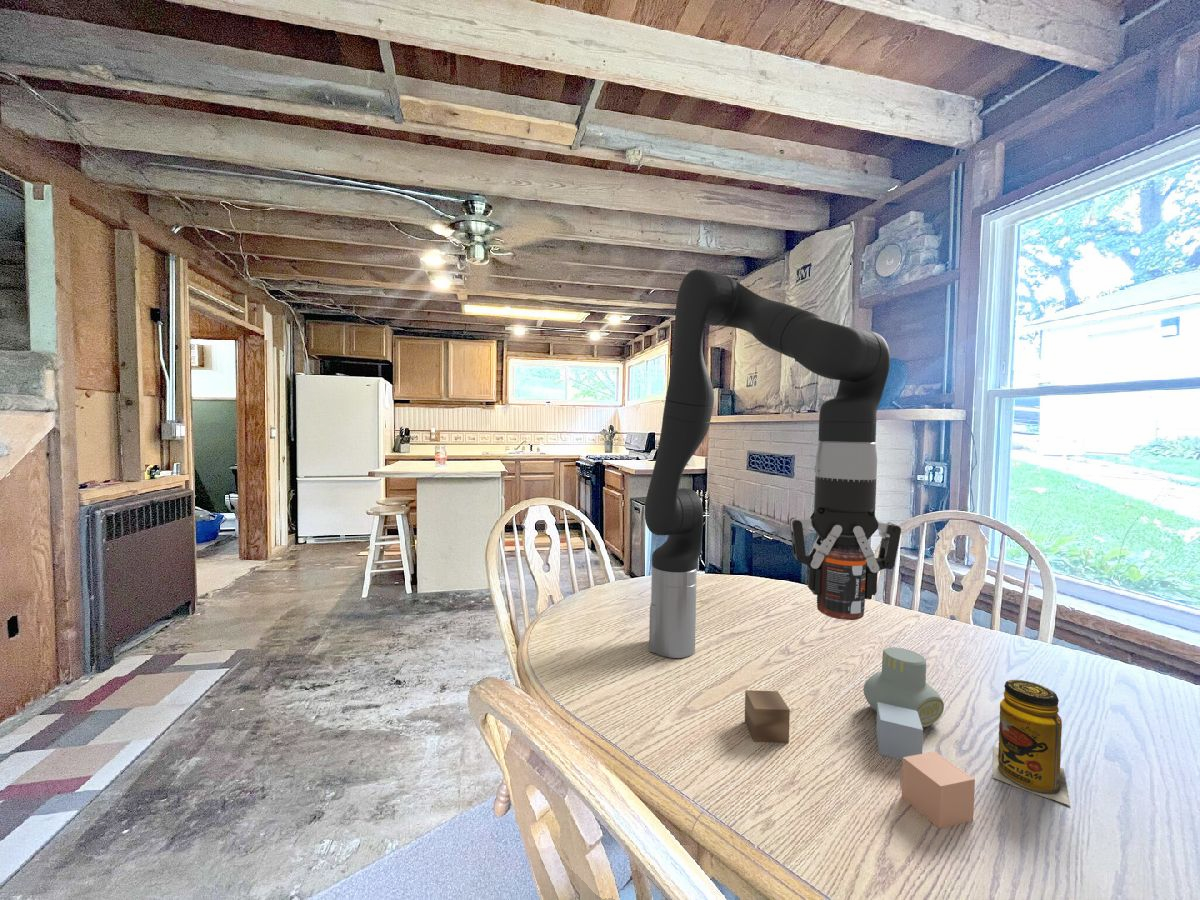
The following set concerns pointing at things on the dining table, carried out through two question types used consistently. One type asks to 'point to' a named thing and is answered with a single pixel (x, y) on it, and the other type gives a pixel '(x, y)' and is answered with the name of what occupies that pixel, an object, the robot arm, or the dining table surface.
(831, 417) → the robot arm
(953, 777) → the terracotta block
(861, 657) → the dining table surface
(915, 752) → the slate block
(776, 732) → the walnut block
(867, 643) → the dining table surface
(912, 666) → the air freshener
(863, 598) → the supplement bottle
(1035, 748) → the condiment
